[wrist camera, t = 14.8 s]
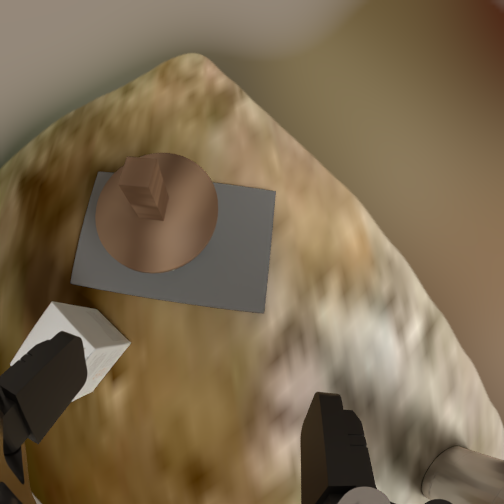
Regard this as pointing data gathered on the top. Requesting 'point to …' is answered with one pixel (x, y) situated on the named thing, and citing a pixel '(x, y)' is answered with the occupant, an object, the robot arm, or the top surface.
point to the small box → (89, 330)
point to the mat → (201, 267)
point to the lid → (157, 212)
